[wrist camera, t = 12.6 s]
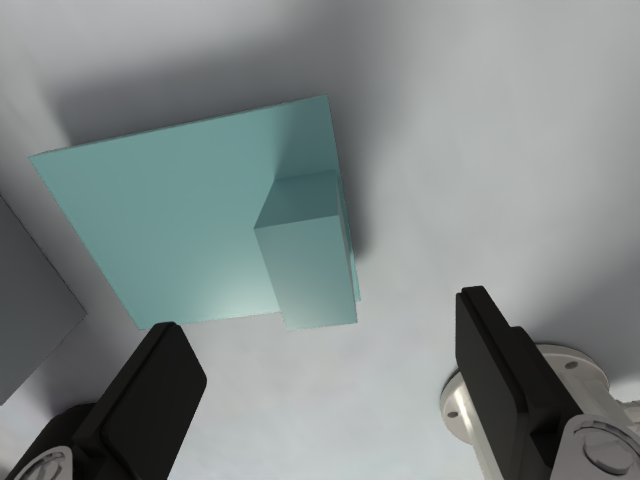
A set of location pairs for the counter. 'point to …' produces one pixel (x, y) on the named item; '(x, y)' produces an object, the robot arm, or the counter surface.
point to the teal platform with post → (216, 217)
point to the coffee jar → (54, 435)
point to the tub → (29, 305)
